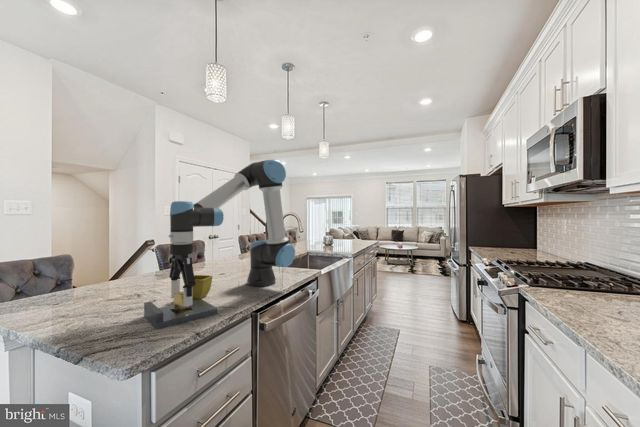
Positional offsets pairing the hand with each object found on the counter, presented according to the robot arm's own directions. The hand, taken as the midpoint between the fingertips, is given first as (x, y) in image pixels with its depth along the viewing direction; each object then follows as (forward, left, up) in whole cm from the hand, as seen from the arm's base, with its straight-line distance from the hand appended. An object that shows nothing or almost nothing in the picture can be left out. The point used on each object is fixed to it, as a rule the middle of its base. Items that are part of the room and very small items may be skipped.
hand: (181, 301), depth 97 cm
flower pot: (-13, -18, -5) cm, 23 cm away
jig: (0, 0, -5) cm, 5 cm away
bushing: (0, 0, -5) cm, 5 cm away
